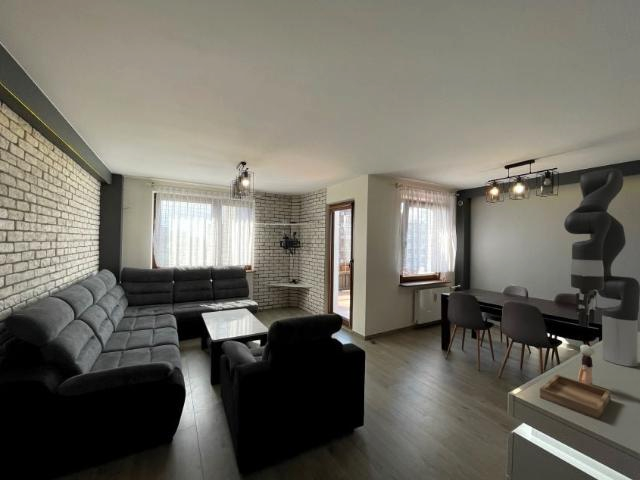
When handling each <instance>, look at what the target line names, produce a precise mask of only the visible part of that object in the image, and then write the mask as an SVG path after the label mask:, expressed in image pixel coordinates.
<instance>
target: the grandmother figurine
mask: <svg viewBox="0 0 640 480" xmlns="http://www.w3.org/2000/svg"><path fill="white" fill-rule="evenodd" d="M579 347H580V354H581V355H582V357H581V366H580V369H579V373H578V375H577V376H578V377H577V381H579V382H582V383H586V384H589V385H592V386H595V385H594V383H593V373H592V370H593V366H594V365H593V359H592V357H591V356H592V355H595V354H596V352H595V351H594V349H593V348H592V347H591V346H589V345H588V344H582V345H580V346H579Z"/></svg>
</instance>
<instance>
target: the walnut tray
mask: <svg viewBox="0 0 640 480" xmlns="http://www.w3.org/2000/svg"><path fill="white" fill-rule="evenodd" d="M611 395H612V394H611V391H610V390H607V389H604V388H602V387H598V386H595V385H593V386H592V385H589V384H586V383H582V381H579V380H576V379H572V378H569V377H566V376H563V375H560V374H556V375H554V376H553V377H552V378H551V379H550V380H548V381H547V382H546V383H545V384H544V385H542V386H541V387H540V388H539V398H540V399H543V400H546V401H548V402H551V403H553V404H556V405H558V406H561V407H563V408H567V409H570V410H571V411H574V412H577V413H580V414H583V415H584V416H587V417H590V418H593V419H595V420H598V421H599V420H600V419H601V417H602V415H603V413H604V412H605V410H606V409H607V406H608V405H609V403H610V402H611V398H612V396H611Z"/></svg>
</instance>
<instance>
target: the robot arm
mask: <svg viewBox="0 0 640 480" xmlns="http://www.w3.org/2000/svg"><path fill="white" fill-rule="evenodd" d="M579 185H580V191H581V195H582V200H581V201H580V203H579V206H578V207H577V208H575V209H574V210H572V211H571V212H570V213H569V214H568V215H566V217H565V220H564V224H563V226H564V229H565V230H566V232H568V233H569V234H572V235H589V239H587V240H582V241H575V242H574V243H572V245H571V264H570V287H571V288H573V289H579V292H577V293H576V294H575V295H576V297H575V312H576V313H577V314H578V326H579V327H584V328H588V327H589V323H592V324H593V323H595V321H596V311H597V309H598V297H597V295H599V296H600V297H602V298H605V299H609V300H616V301H620V304H619V305H617V306H608V307H607V306H606V307H603V308H602V309H601V310H602V311H601V313H602V314H601V315H602V316H601V323H602V325H601V326H602V327H601V330H602V331H601V333H602V338H601V339H602V340H601V341H602V342H601V344H602V348H601V349H602V350H601V351H602V352H601V353H602V355H601V356H602V357H601V358H602V359H603V360H605V361H606V362H609V363H612V364H617V365H620V366H624V367H632V368H633V367H634V368H635V366H636V367H638V365H639V364H638V363H639V361H638V360H639V349H638V348H639V344H638V343H639V339H638V338H639V335H638V332H639V331H638V330H639V328H638V327H639V326H638V322H639V321H638V320H639V318H638V316H639V311H640V283H639V281H638V279H637V278H635V277H629V276H618V275H612V271H611V270H612V265H613V263H614V261H615V259H616V258H617V257H618V256H619V254H620V253H621V252H622V250H623V249H624V248H625V246H626V235H625V229H624V226H623V223H621V222H620V221H619V220H618V219H616V218H615V217H614V216H613V215H612V214H610V213H609V212H608V209H609V206H610V204H611V202H612V201H613V200H614V199H615V198H616V196H618V194H619V193H620V192H621V191H622V189H623V186H624V177H623V172H622V171H621V170H620V169H619V168H608V169H607V168H606V169H602V170H596V171H592V172H591V171H590V172H587V173H584V174H582V175H581V176H580V180H579Z"/></svg>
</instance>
